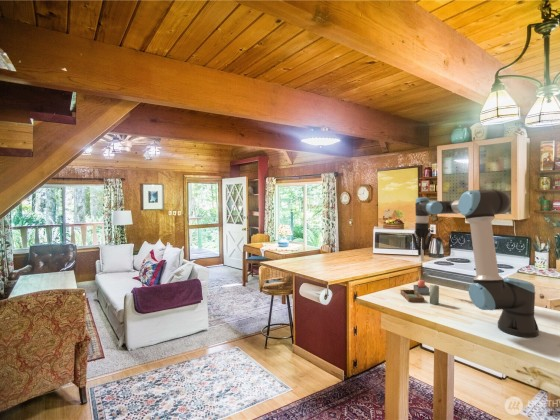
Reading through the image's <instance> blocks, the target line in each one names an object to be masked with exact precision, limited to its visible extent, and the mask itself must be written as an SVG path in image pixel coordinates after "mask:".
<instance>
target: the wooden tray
mask: <svg viewBox="0 0 560 420" xmlns="http://www.w3.org/2000/svg"><path fill="white" fill-rule="evenodd" d="M400 295H401V296H402V297H403V298H404V299H405V300H406V301H407V302H408V303H425V296H423V294H419V293H418V292H417V291H416V290H414V289H400Z"/></svg>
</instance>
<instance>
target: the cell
mask: <svg viewBox="0 0 560 420" xmlns="http://www.w3.org/2000/svg"><path fill="white" fill-rule="evenodd" d="M439 298H440V285H437V284H430V285H429V304H430V305H432V306H438V305H439V304H440V303H439V302H440V299H439Z"/></svg>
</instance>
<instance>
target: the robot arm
mask: <svg viewBox="0 0 560 420" xmlns="http://www.w3.org/2000/svg"><path fill="white" fill-rule="evenodd" d="M511 200H512V199H511V197H510V196H509V194H507V193H506V192H505V191H502V190H498V189H492V190H491V189H474V190H467V191H464V192H463V193H462V194H461V196H460V197H459V199H455V200H454V199H453V200H430V199H429V197H416V198H415V203H414V204H415V207H414V208H415V216H414V218H415V227H414V228H415V230H414V232H412V233H410V236H411V238H412V241H413V245H414V249H416V250H417V255H418V256H419V258H418V259H419V261H421V262H423V261H425V259H424V258H425V257H424V256H426V250H429V249H430V244H431V241H432V237H433V236H434V234H433V233H431V232H430V231H429V228H430V227H429V219H430V216H429V215H440V214H441V215H446V214H448V215H449V214H450V215H451V214H456V215H458V214H460V215H461V216H464V217H465V221H466V222H467V223H469V226H470V236H471V242H472V250H473V258H474V265H475V273H476V275H475V276H474V277H473V282H472V283H471V284H470V285H469V288H468V295H469V298H470V300H471V302H472V303H473V304H474V306H475V307H476V308H477V309H479V310H481V311H494V310H495V311H496V310H498V311H499V310H501V311H502V312H501V314H500V316H499V318H498V319H497V328H498V329H499V330H500V331H502V332H503V333H506V334H508V335H511V336H517V337H520V338H521V337H522V338H535V337H538V336H539V334H540V333H539V332H540V331H539V327H538V323H537V320H536V317H535V305H536V304H535V303H536V301H535V300H536V289H535V287H536V286H535V285H534V283H533V282H530V281H527V280H525V279H518V278H514V277H504V278H503V277H502V276H501V275H500V274H499V269H498V268H499V266H498V260H497V253H496V245H495V238H494V232H493V231H494V230H493V225H492V221H493V220H494V219H495V217H496V215H501V214H504V213H506V212H507V211H508V210H509V209H510V207H511V204H512V203H511V202H512V201H511Z"/></svg>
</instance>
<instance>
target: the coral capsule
mask: <svg viewBox="0 0 560 420" xmlns="http://www.w3.org/2000/svg"><path fill="white" fill-rule="evenodd" d="M417 285H418V287H421V288H425V285H426V281H425V280H424V279H418V280H417Z"/></svg>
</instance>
